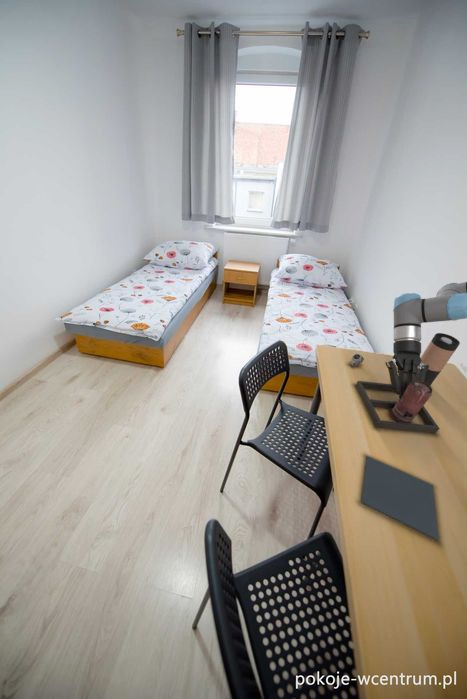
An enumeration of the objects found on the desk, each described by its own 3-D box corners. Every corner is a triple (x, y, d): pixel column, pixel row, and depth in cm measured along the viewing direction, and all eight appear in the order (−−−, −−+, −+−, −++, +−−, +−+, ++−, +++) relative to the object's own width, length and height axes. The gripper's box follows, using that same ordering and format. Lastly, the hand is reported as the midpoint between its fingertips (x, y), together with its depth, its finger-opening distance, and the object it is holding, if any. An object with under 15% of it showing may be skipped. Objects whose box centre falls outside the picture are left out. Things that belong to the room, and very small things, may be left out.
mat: (431, 486, 71) (432, 485, 70) (437, 540, 60) (438, 539, 60) (366, 457, 76) (367, 456, 75) (361, 502, 65) (362, 501, 65)
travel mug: (412, 373, 110) (439, 330, 98) (432, 384, 105) (463, 340, 94) (404, 380, 106) (431, 336, 94) (425, 392, 101) (456, 347, 90)
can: (392, 423, 87) (415, 391, 78) (388, 408, 92) (408, 377, 84) (413, 428, 86) (437, 396, 78) (407, 413, 91) (429, 382, 83)
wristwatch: (346, 363, 110) (351, 353, 107) (357, 360, 113) (362, 350, 110) (353, 369, 108) (358, 359, 105) (364, 365, 111) (369, 355, 108)
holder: (406, 391, 100) (409, 386, 99) (435, 433, 85) (439, 428, 84) (355, 385, 100) (357, 380, 98) (375, 427, 84) (378, 422, 83)
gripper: (418, 346, 92) (419, 418, 88) (379, 341, 92) (378, 413, 88) (436, 342, 85) (437, 420, 81) (394, 337, 85) (393, 415, 81)
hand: (406, 417), depth 84 cm, fingers closed
